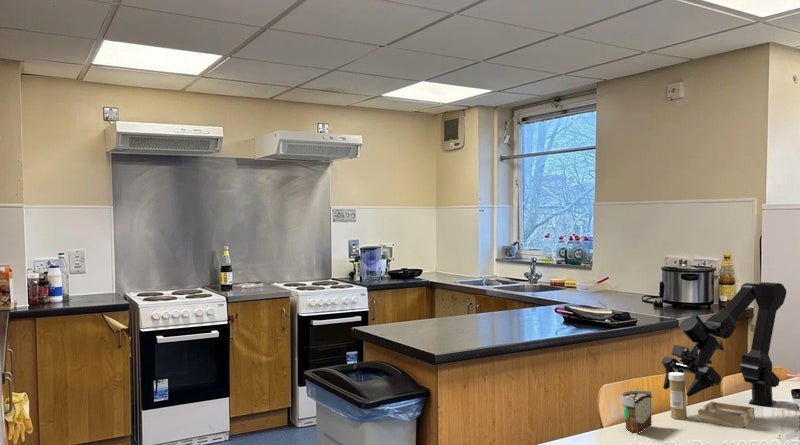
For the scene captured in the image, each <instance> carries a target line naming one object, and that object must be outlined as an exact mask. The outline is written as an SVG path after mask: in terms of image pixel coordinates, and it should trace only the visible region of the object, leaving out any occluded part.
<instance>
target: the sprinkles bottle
mask: <svg viewBox="0 0 800 445" xmlns="http://www.w3.org/2000/svg"><path fill="white" fill-rule="evenodd" d="M669 381H670V387H669V400H670V417H671V418H672V419H675V420H686V419H687V418H688V415H687V414H688V413H687V395H686V382H685V381H686V375H685V373H684V372H683V373H680V372H671V373H669Z"/></svg>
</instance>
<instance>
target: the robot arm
mask: <svg viewBox="0 0 800 445" xmlns="http://www.w3.org/2000/svg"><path fill="white" fill-rule="evenodd" d="M786 296H787V288H785V286H784V284H782V283H780V282H769V281H768V282H767V281H766V282H765V281H762V282H759V283H751V282H750V283H749V282H748V283H747V282H746V283H743V284H742V285H741V286H740V289H739V290H738V292H736V294H734V296H733V297H732V299H730V300H729V302H728V303H727V305H725V306H724V308H722V310H721V311H719V312H717V313H715V314H712V315H711V316H710V317H709V318H707V319H706V321H704V322H703V320H702V319H701V317H700V316H699V315H697V314H692V315H691V316H689V317H687V318H685V319H683V320H682V321H681V322H680V323H679V330H680V331H681V332H682V333H683V334H684V335H685V336H686V337H687V338H688V340H689V341H690V342H691V343H694V346H692V345H690V346H688V347H687V346H683V345H682V346H681V345H677V344H673V347H672V351H671V354H670V355H672V356H675V357H677V358H679V359H678V360H679V361H680V362H681V363H682V364H681V363H680V362H679V361H678V360H677V359H676V358H675V357H671V356H664V357H663V359H662V360H661V361H660V362H661V364H662V367H664V369H665V376H664V377H665V378H664V382H663V387H662V388H663V389H664V390H665V391H666V390H668V389H670V381H669V373H671V372H680V373H684V372H685V373H689V374H692V375H694V380H693V382H692V383H691V384H690V386H689V387H688V390H687V391H686V393H685V396H686V397H689V398H691V397H692V396H694V395H696V394H697V393H699V392H702V391H704V390H705V389H708V388H710V387H713V388H714V386H719V385H720V383H721V382H722V376H721V375H720V374H719V373H718V372H717V370H716V369H715V368H714V367H713V366H709V365H712V363H713V361H712V360H711V359H712V358H713V356H714V355H715V353H716V351H725V350H724V349H725V348H724V345H723V342H722V341H720V340H718V338H719V339H729V338H730V337H731V336H732V335H733V333H734V332H735V330H736V328H737V321H738V319H739V318H741V316H742V315H743V314H744V312H745V311H746V310H747V309H748V308H749V306H750V305H751V304H752V303H753V302H754V301H755V302H756V304H757V307H758V311H757V314H756V315H757V316H756V319H755V326H754V332H753V337H752V342H751V348H750V351H749V352H748V353H747V354H742V355H741V363H740V365H739V367H740V372H741V373H742V377H743V380H744V382H745V383H749V384H751V387H750V388H751V399H750V400H749V401H748V404H750V405H757V406H758V405H759V406H765V407H773V406H774V405H775V404H777V401H776V400H774V399H773V388H776V387H779V384H780V378H779V377H778V376H777V375H776V373H774V372H773V362H772V361H771V356H770V355H769V354H770V353H769V352H770V349H771V342H772V337H773V331H774V330H773V329H774V326H775V320H776V315H777V311H778V310H779V309H780V308H781V307H782V306H783V305H784V302H785V301H786V300H785V299H786Z"/></svg>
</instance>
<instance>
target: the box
mask: <svg viewBox="0 0 800 445" xmlns="http://www.w3.org/2000/svg"><path fill="white" fill-rule="evenodd" d="M697 411H698V415H697V416H698V421H699V422H704V423H705V422H706V423H709V424H711V423H712V424H718V425H723V426H728V427H734V428H740V429H744V428H746V427H747V426H748V425H749V424H750V423H751V422H752V421H754V419H755V407H751V406H745V405H737V404H731V403H723V402H717V401H709V402H708V403H707V404H706V405H703V406H702V407H701V408H699V409H698V410H697Z"/></svg>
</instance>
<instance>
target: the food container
mask: <svg viewBox="0 0 800 445" xmlns="http://www.w3.org/2000/svg"><path fill="white" fill-rule="evenodd" d="M652 399H653V394H652V391H649V390H627V391H625V392H623V393H622V395H621V398H620V403H621V404H622V405H623V406H622V407H623V415H624V421H625V429H627V430H628V431H630V432H632V433H631V434H633V433H637V434H638V433H639V432H641V431H643V430H644V429H647V428H648V429H650V428H651V427H650V426H652V425H653V424H652ZM649 427H650V428H649ZM652 427H653V426H652ZM648 429H647V430H648ZM627 430H626V431H627ZM628 431H627V432H628ZM630 432H629V433H630ZM643 432H644V431H643ZM641 433H642V432H641ZM638 435H639V434H638Z"/></svg>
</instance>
